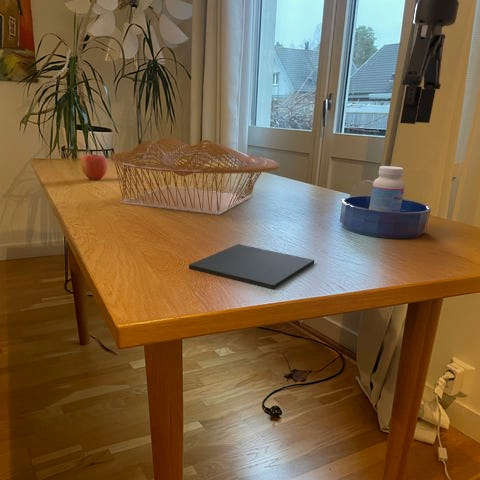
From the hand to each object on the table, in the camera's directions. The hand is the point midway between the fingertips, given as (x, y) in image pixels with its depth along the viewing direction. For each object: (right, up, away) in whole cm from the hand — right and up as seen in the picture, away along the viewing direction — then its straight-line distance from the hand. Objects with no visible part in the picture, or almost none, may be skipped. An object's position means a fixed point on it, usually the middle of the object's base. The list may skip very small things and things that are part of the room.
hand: (415, 123), depth 97 cm
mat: (-34, -32, -25) cm, 53 cm away
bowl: (-7, -21, +1) cm, 22 cm away
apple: (-78, 0, +40) cm, 88 cm away
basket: (-47, -11, +19) cm, 52 cm away
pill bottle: (-7, -21, +1) cm, 22 cm away
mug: (-5, -14, +18) cm, 23 cm away
